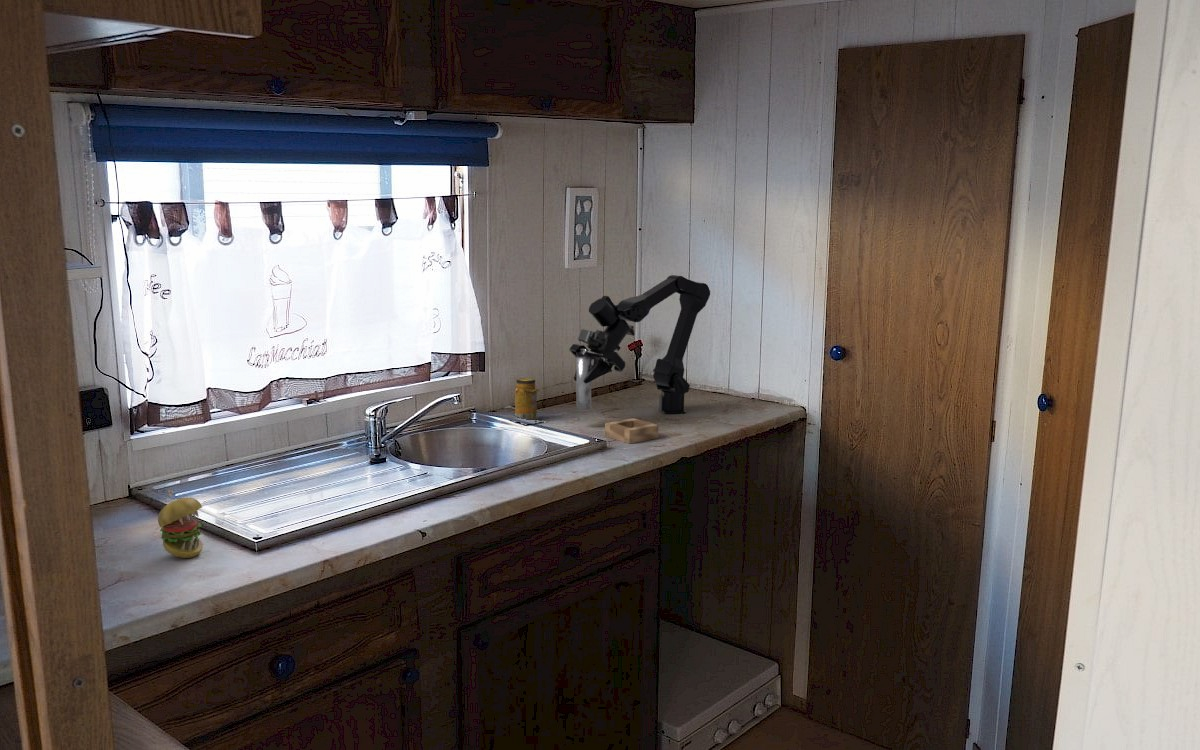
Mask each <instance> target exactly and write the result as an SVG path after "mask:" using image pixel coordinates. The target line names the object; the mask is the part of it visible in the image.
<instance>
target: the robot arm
mask: <svg viewBox="0 0 1200 750" xmlns="http://www.w3.org/2000/svg"><path fill="white" fill-rule="evenodd" d="M675 293H677V294H679V304H680V311H679V315H678V318H677V321H676V324H675V328H674V331H673V333H672V335H671V336H672V337H671V339H670V342H669V346H668V349H667V352H666V355H665V356H664V357H663V358H657V360H656V362H655V366H654V368H653V370H652V372H653V380H654V382H655V386H656V389H657V390H660V395H659V397H658V399H659V401H658V410H659V411H661V412H662V413H663V414H664V415H669V414H670V415H671V414H686V412H687V411H686V410H685V394H686V393H687V394H688V393H689V390H690V387H691V386H690V384H689V383H688V382H687V380H686V379H685V378H684V373H685V367H684V361H683V360H684V357H685V354H686V350H687V348H688V344H689V341H690V338H691V335H692V332H693V329H694V326H695V322H696V318H697V316H698V314H699V313H700V312H701V311H702V310H703V309H704V308H705V307H706V305H707V303H708V300H709V299H710V296H711V290H710V287H709V285H708V284H706V283H704V282H700V281H699V282H698V281H694V280H691V279H688V278H687V277H684V276H683V275H677V274H676V275H675V274H674V275H673V274H671V275H669V276H667V278H666V279H664V280H662V281H661V282H660V283H658V284H656V285H655V286H652V287H651V288H650V289H648V290H647V291H645V292H643V293H642V294H640V295H637V296H632V297H628V298H625V299H623V300H621V301H619V302H618V304H616V305H615V303H614V302H613V301H612V299H611V297H610V296H609V295H603V296H602V297H601V298H598V299H596V300H595V301H593V302H592V303H591V304H590V305H589V308H588V312H589V314H590V315H591V316H592V317H593V318H594V319H595V321H596V322H597V323H598V325H600V327H602V328H604V327H605V328H604V330H599V329H597V330H596V331H591V330H588V329H584V328H583V329H580V333H579V336H578V338H577V340H578V341H579V342H583V343H585V344H586V346H585V345H584V344H581V343H580V344H579V343H573V344H572V345H571V346H570V347H569V349H568V351H569V352H570V353H571V354H572V355H573V356H574V357H575V358H576V359H577V357H580V356H587V357H591V362H592V361H593V364H592V363H591V369H590V371H589V372H588V374H587V375H586V377H585V379H584V383H586V384H587V383H589V382H591V383H592V381H594V380H596V379H598V378H600V377H603V376H604V375H606V374H608V373H612V372H613V370H614V371H615V372H619V373H622V372H623V371H624V369H626V361H625V360H624V359H623V358H622V356H621V355H620V354H619V352H618V351H621V350H620V349H621V347H620V344H621V343H622V342H623V340H624V339H625V337H626V336H633V337H634V336H635V330H634V328H635V327H634V325H631V324H629V323H628V322H630V323H631V322H632V323H640V322H641V321H643V320H644V319H645V318H646V317H647V316H648V315H649V313H650V311H651V309H653V308H654V307H656V306H657V305H659V304H660V303H661V302H663V301H664V300H667V299H668V298H669V297H671V296H672V295H673V294H675ZM616 351H617V352H616ZM612 368H614V369H612ZM573 380H574V381H576V382H577V368H576V370H575V373H574V376H573Z"/></svg>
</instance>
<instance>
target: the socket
mask: <svg viewBox="0 0 1200 750" xmlns="http://www.w3.org/2000/svg"><path fill="white" fill-rule="evenodd" d="M604 437H607V438H610V439H614V440H617V441H619V442H623V443H627V444H628V445H629V444H630V445H631V444H635V443H640V442H641V443H642V442H645V441H650V440H655V439H658V438H659V425H658V424H656V423H652V422H649V421H645V420H641V419H638V418H636V417H632V418H627V419H622V420H615V421H611V422H605V424H604Z"/></svg>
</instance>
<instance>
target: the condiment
mask: <svg viewBox="0 0 1200 750" xmlns="http://www.w3.org/2000/svg"><path fill="white" fill-rule="evenodd" d="M515 382H516V385H515V386H516V388H515V390H514V418H515V417H517V418H521V419H526V420H536V419H537V406H538V405H537V404H538V403H537V402H538V401H537V400H538V399H537V397H538V395H537V393H538V392H537V388H536V379H535V378H531V377H520V378H519V377H518V378H517V379H516V381H515ZM543 421H544V420H543ZM544 423H546V421H544Z"/></svg>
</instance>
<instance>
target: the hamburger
mask: <svg viewBox="0 0 1200 750" xmlns="http://www.w3.org/2000/svg"><path fill="white" fill-rule="evenodd" d="M167 494H168V495H169V497H170V500H171V501H170V502H169V503H168V504H166V505H165V506H164V507H163V508H161V510H160V511H159V514H158V516H157V523H158V525H159V527H160V529H159V532H161V537H160V539H161V540H162V545H163V548H164V550H165V551H166V552H167V553H169V554H170V555H171V556H174V557H176V558H181V559H189V558H194V557H196V556H198V555H199V554H200V553H201V552H202V551H203V545H204V544H203V542H202V540H200V538H199V536H201V535H202V534H201V531H200V528H201V527H202V524H201V523H198V522H199V521H198V520H196V519H197V518H198V517H200V516H199V512H198V511H199V510H201V508H203V507H202V504H201V502H200V501H198V500H197V499H196V498H193V497H182V498H178V499H176V500H172V495H173V494H174V490H169V489H167ZM184 517H186V518H184ZM190 517H191V518H190ZM193 517H194V518H195V519H194V518H193ZM196 517H197V518H196Z"/></svg>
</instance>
